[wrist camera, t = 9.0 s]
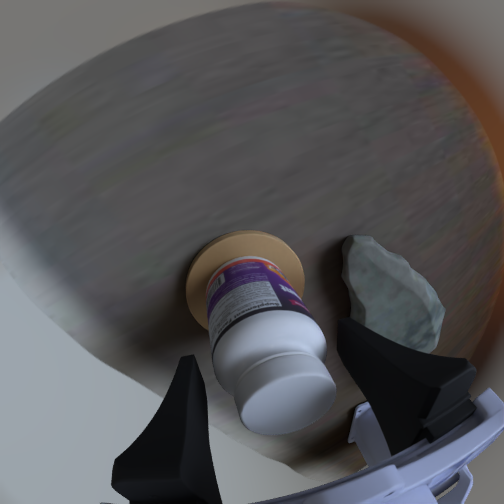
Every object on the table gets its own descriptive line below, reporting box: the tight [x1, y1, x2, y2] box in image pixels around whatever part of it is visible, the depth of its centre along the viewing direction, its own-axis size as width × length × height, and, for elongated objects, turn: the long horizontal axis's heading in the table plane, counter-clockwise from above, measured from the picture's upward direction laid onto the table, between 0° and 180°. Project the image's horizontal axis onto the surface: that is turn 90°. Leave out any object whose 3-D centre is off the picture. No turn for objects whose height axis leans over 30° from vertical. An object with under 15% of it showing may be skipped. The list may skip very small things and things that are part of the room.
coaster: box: [186, 230, 305, 331], centre depth 19 cm, size 8×8×1 cm
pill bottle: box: [206, 256, 336, 435], centre depth 14 cm, size 5×5×10 cm
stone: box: [341, 235, 445, 354], centre depth 22 cm, size 17×3×10 cm
